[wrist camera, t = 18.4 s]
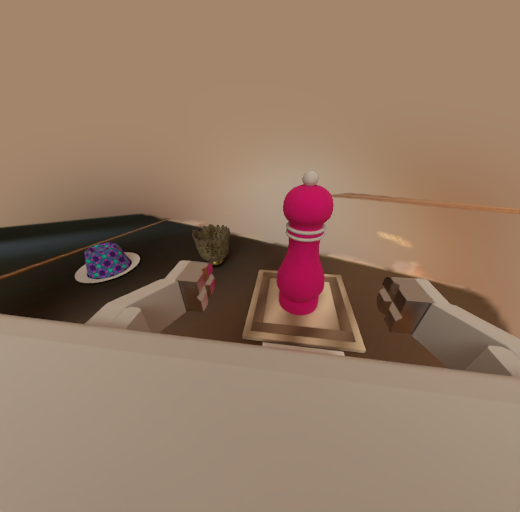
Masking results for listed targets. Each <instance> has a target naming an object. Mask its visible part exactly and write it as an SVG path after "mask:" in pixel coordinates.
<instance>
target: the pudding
mask: <svg viewBox="0 0 520 512" xmlns="http://www.w3.org/2000/svg"><path fill="white" fill-rule="evenodd" d="M84 258H85V263H86V264H85V265H84V266H82V267H81V268H80V269H79V270H78V271H77V272H76V274H75V279H76V280H77V281H79V282H82V283H96V282H102V281H107V280H110V279H113V278H116V277H119V276H121V275H123V274H125V273H127V272H129V271H130V270H132V269H133V268H134V267H135V266H137V264H138V263H139V261H140V257H139V255H137V254H135V253H130V252H123V250H122V249H121V248H120V247H119V246H118V245H117V244H115V243H110V242H109V243H101V244H98V245H96V246H92V247H90V248H89V249H88V250H86V251H85V252H84ZM131 261H132V264H130V262H131ZM130 265H131V266H130ZM129 266H130V267H129ZM128 267H129V268H128ZM126 268H128V269H127V270H125V271H124V269H126ZM123 271H124V272H123ZM121 272H122V273H121ZM119 273H120V274H119ZM87 274H88V275H89V277H90V278H92V279H90V278H88V277H87ZM117 274H118V275H117ZM112 275H115V276H112ZM110 276H112V277H110ZM107 277H109V278H107ZM95 278H101V279H95ZM102 278H104V279H102Z"/></svg>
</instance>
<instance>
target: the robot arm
mask: <svg viewBox="0 0 520 512" xmlns="http://www.w3.org/2000/svg"><path fill="white" fill-rule="evenodd" d="M212 271H213V266H212V264H211V263H206V262H196V261H184V260H182V261H180V262H179V263H178V264H177V265H176V266H175V267H174V269H173V270H172V271H171V272H170V273H169V274H168V275H167V276H166V278H165V279H160V280H158V281H156V282H153V283H151V284H149V285H147V286H145V287H142V288H140V289H138V290H136V291H133V292H131V293H129V294H127V295H124V296H122V297H120V298H118V299H116V300H113V301H111V302H109V303H107V304H106V305H105V306H104V307H103V308H101V309H100V310H99V311H98V312H97V313H96V314H95V315H94V316H93V317H92V318H91V319H89V320H88V321H87V322H86V323H85V324H78V323H70V322H62V321H54V320H46V319H37V318H29V317H21V316H13V315H6V314H0V512H520V339H518V338H516V337H514V336H512V335H510V334H509V333H507V332H505V331H503V330H501V329H499V328H497V327H495V326H493V325H491V324H490V323H488V322H486V321H484V320H482V319H480V318H478V317H476V316H474V315H472V314H471V313H469V312H467V311H465V310H463V309H461V308H459V307H457V306H455V305H450V303H449V302H448V301H447V300H446V299H445V298H444V297H443V296H442V295H441V294H440V293H439V292H438V291H437V290H436V289H435V288H434V286H433V285H432V284H431V283H430V282H429V281H428V280H426V279H420V278H398V277H386V278H385V279H384V281H383V283H382V284H383V286H384V288H383V289H382V290H380V291H379V293H378V296H377V305H378V308H379V311H380V312H381V313H383V314H384V315H385V318H384V321H385V323H386V324H387V326H388V328H389V330H390V332H394V333H402V334H410V335H412V336H413V337H414V338H415V339H416V340H417V341H418V342H419V343H421V344H422V345H423V346H424V347H425V348H426V349H427V350H428V351H430V352H431V353H432V354H433V355H434V356H435V357H436V358H437V359H439V360H440V361H441V362H442V363H443V364H444V365H445V366H446V367H448V368H449V369H447V368H439V367H430V366H422V365H414V364H406V363H397V362H389V361H381V360H373V359H365V358H357V357H349V356H341V355H333V354H324V353H316V352H308V351H300V350H291V349H283V348H275V347H267V346H259V345H250V344H242V343H234V342H226V341H218V340H209V339H201V338H193V337H185V336H177V335H168V334H160V333H159V332H160V331H162V330H163V329H164V328H166V327H167V326H168V325H170V324H171V323H172V322H173V321H175V320H176V319H177V318H179V317H180V316H181V315H183V314H184V313H185V312H186V311H196V312H204V310H205V308H206V306H207V304H208V297H210V296H212V294H213V291H214V287H215V279H214V276H213V275H212V274H211V273H212Z"/></svg>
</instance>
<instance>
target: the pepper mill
mask: <svg viewBox="0 0 520 512" xmlns="http://www.w3.org/2000/svg"><path fill="white" fill-rule="evenodd" d="M317 182H318V174H317V173H316V172H315V171H308V172H306V173H305V174H304V176H303V183H304V185H300V186H298V187H295V188H293V189H292V190H291V191H290V192H289V193H288V194H287V195H286V198H285V200H284V205H283V211H284V215H285V217H286V218H287V220H288V221H289V222H288V223H287V225H286V227H287V230H286V234H287V236H288V237H289V246H288V251H287V254H286V256H285V258H284V260H283V262H282V264H281V265H280V267H279V270H278V273H277V280H276V282H277V286H278V288H279V290H280V291H279V303H280V305H281V307H282V308H283V309H284V310H285V311H287V312H288V313H291V314H293V315H299V316H300V315H307V314H310V313H312V312H313V311H315V309H316V308H317V305H318V299H319V295H320V294H321V293H322V291H323V289H324V283H325V277H324V271H323V268H322V265H321V262H320V258H319V243H320V240H321V239H322V238H323V237H324V235H325V233H324V230H325V229H326V227H325V225H324V223H325V222H326V221H327V220H328V219H329V218H330V217H331V214H332V211H333V199H332V196H331V194H330V193H329V192H328V191H327V190H326V189H325V188H323V187H321V186H318V185H316V184H317Z"/></svg>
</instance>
